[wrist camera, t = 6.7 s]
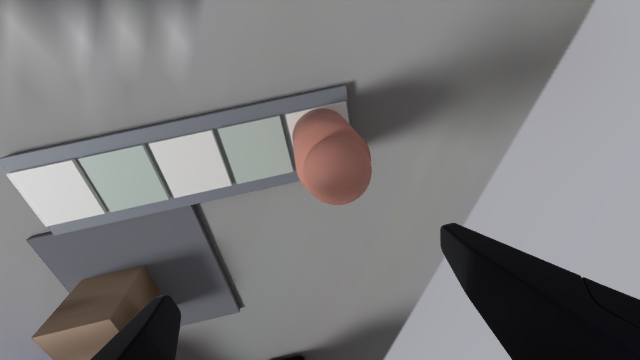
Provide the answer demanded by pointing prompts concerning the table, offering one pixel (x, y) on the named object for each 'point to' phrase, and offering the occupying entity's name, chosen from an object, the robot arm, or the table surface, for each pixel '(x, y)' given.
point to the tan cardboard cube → (95, 313)
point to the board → (166, 163)
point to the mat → (147, 259)
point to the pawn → (331, 157)
